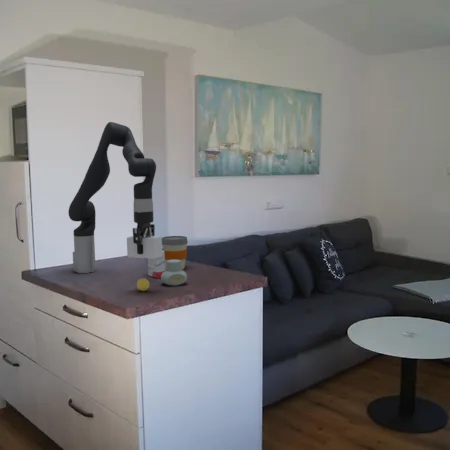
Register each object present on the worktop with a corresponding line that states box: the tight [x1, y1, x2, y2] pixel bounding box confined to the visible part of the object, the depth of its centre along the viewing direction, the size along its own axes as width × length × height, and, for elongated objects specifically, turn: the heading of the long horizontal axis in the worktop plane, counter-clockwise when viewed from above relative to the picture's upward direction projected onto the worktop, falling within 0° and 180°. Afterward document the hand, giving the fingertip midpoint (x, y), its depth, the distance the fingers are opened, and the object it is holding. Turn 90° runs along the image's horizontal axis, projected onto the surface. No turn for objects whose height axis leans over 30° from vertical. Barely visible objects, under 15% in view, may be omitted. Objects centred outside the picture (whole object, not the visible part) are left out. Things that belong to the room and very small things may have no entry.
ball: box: [136, 277, 150, 292], centre depth 200 cm, size 5×5×5 cm
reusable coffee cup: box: [162, 235, 188, 271], centre depth 243 cm, size 13×12×15 cm
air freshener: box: [160, 260, 188, 287], centre depth 211 cm, size 11×8×10 cm
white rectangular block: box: [126, 235, 163, 259], centre depth 198 cm, size 12×7×8 cm, turn 72°
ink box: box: [147, 251, 166, 279], centre depth 227 cm, size 9×5×12 cm, turn 33°
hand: (144, 252), depth 199 cm, fingers closed on white rectangular block, 6 cm apart
